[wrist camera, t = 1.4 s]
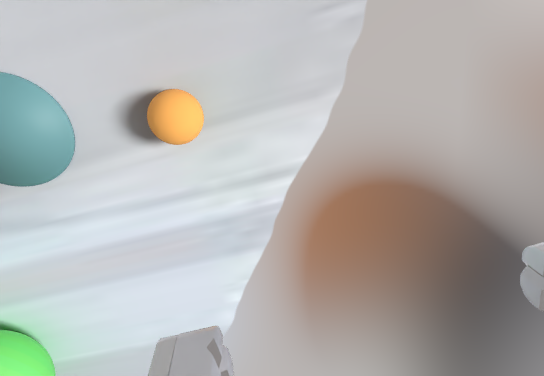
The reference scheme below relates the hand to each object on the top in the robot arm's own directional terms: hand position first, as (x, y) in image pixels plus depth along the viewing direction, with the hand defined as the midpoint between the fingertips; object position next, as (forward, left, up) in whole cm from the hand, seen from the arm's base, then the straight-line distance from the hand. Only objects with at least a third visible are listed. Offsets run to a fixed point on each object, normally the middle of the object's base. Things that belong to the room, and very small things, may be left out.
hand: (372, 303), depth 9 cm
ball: (+1, -8, -29) cm, 30 cm away
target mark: (+1, -25, -31) cm, 40 cm away
